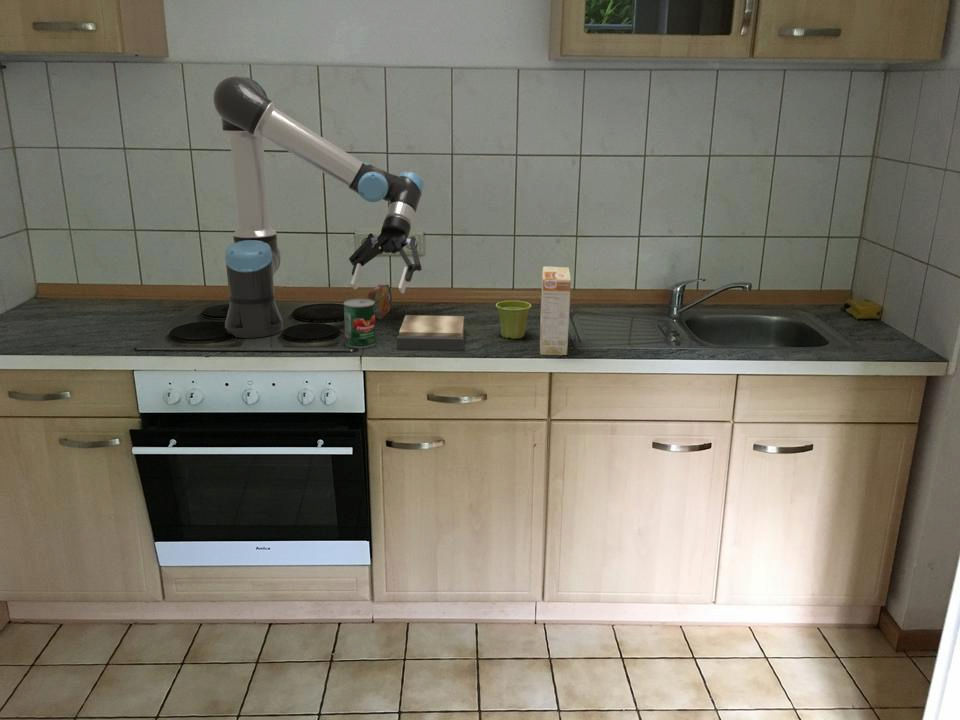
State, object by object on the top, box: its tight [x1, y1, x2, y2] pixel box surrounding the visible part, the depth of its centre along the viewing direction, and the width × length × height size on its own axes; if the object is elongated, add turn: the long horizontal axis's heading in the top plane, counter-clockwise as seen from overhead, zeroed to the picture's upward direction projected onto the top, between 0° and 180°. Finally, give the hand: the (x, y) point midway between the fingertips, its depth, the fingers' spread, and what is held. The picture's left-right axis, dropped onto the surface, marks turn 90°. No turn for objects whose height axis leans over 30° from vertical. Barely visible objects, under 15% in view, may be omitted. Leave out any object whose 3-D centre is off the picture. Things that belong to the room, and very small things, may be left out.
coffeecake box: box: [539, 265, 572, 356], centre depth 198 cm, size 15×7×20 cm, turn 175°
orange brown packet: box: [367, 284, 392, 320], centre depth 226 cm, size 15×3×8 cm, turn 168°
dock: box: [396, 314, 465, 351], centre depth 205 cm, size 17×18×4 cm
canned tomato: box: [343, 298, 377, 349], centre depth 200 cm, size 8×8×11 cm
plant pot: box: [495, 300, 532, 340], centre depth 208 cm, size 9×9×9 cm
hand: (377, 288), depth 205 cm, fingers open, 13 cm apart
